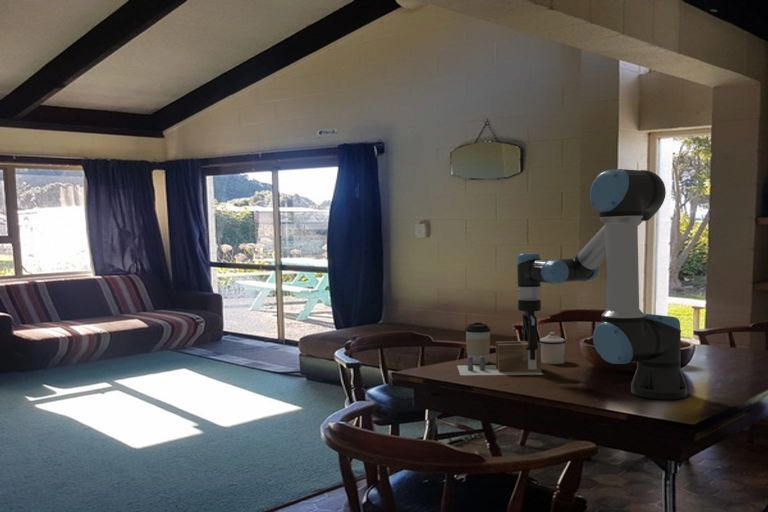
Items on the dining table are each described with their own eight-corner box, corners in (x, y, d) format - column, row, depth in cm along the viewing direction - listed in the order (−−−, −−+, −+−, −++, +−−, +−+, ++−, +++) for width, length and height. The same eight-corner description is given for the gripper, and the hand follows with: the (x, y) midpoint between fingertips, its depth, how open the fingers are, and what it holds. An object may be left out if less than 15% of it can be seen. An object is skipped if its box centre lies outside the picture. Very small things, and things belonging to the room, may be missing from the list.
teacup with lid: (570, 366, 237) (570, 333, 236) (546, 368, 235) (545, 334, 235) (555, 360, 249) (554, 329, 248) (532, 361, 247) (531, 330, 246)
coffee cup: (490, 368, 237) (489, 325, 236) (464, 367, 238) (464, 325, 238) (491, 363, 245) (491, 322, 245) (466, 362, 247) (466, 322, 247)
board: (543, 378, 219) (543, 360, 219) (460, 378, 220) (460, 361, 220) (534, 368, 235) (534, 352, 235) (457, 368, 236) (456, 352, 236)
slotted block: (541, 371, 223) (540, 344, 223) (498, 371, 224) (498, 344, 224) (537, 367, 230) (536, 340, 230) (496, 367, 231) (495, 341, 231)
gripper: (513, 296, 236) (514, 361, 237) (522, 302, 217) (523, 373, 217) (535, 296, 236) (536, 361, 237) (546, 301, 216) (547, 372, 217)
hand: (530, 366), depth 227 cm, fingers closed on slotted block, 7 cm apart
